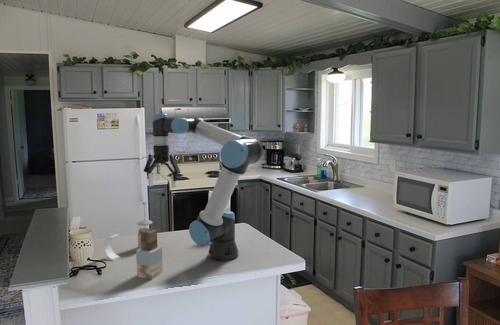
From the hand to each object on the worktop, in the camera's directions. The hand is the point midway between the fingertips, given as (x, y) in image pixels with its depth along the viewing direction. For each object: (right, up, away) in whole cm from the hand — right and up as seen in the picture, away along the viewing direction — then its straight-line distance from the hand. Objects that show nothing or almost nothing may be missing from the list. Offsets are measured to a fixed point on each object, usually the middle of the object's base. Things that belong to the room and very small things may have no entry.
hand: (162, 186), depth 205 cm
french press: (-12, -34, +12) cm, 38 cm away
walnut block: (0, -26, -25) cm, 36 cm away
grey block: (0, -32, -25) cm, 40 cm away
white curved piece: (-24, -36, -3) cm, 43 cm away
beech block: (0, -38, -24) cm, 45 cm away
